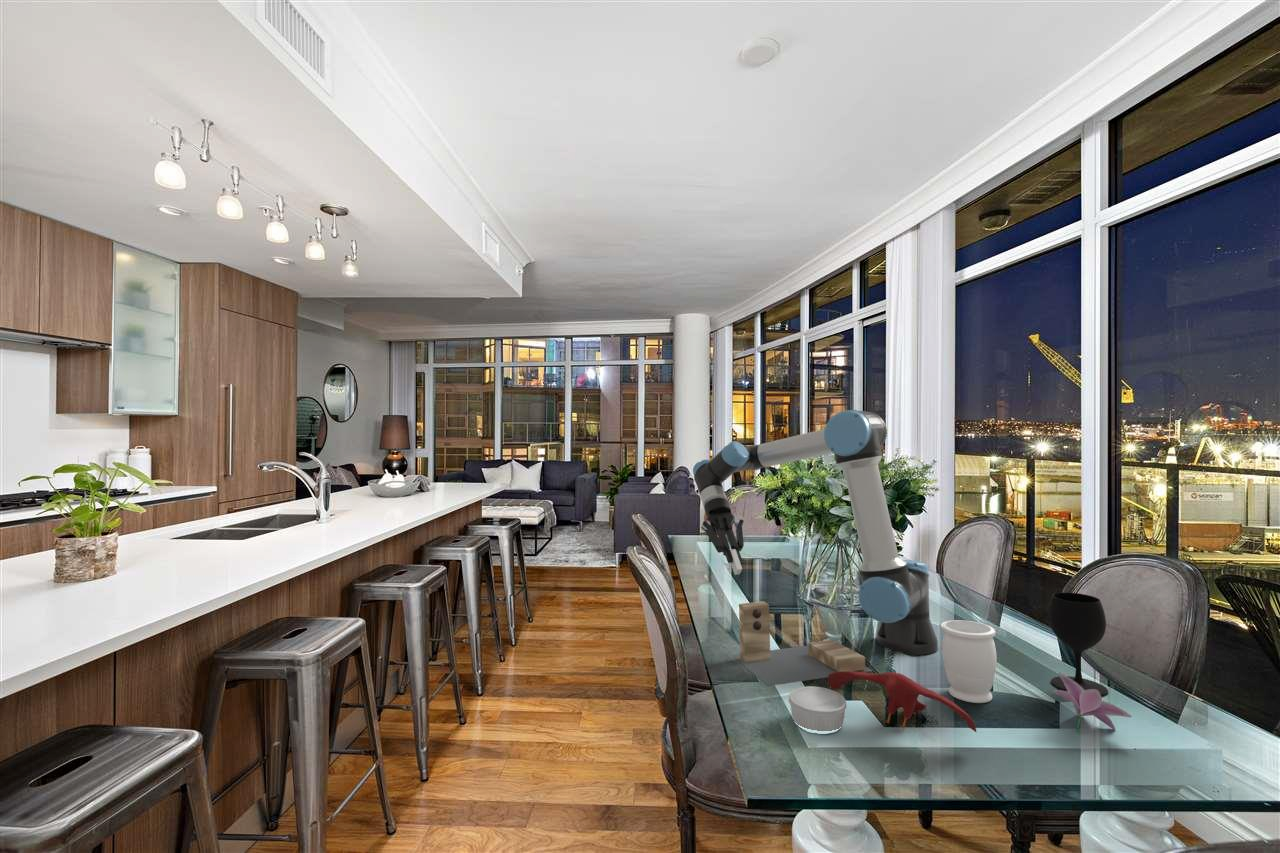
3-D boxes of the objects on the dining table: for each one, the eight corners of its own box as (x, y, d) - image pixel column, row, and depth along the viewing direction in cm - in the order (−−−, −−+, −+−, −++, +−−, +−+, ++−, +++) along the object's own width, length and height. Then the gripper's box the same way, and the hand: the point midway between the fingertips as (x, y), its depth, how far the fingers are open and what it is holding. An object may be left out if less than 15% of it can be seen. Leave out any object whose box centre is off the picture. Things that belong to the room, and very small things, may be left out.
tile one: (808, 642, 154) (839, 660, 141) (832, 639, 156) (864, 656, 143) (808, 655, 154) (840, 674, 141) (832, 652, 156) (865, 670, 142)
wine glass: (1097, 680, 136) (1094, 593, 136) (1117, 699, 126) (1113, 605, 126) (1044, 675, 139) (1041, 590, 139) (1059, 694, 129) (1056, 602, 130)
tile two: (740, 658, 153) (738, 603, 153) (765, 655, 154) (763, 601, 155) (745, 663, 149) (744, 607, 150) (771, 659, 151) (769, 604, 151)
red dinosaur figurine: (838, 720, 129) (813, 683, 122) (851, 681, 134) (828, 644, 127) (983, 769, 109) (963, 729, 102) (992, 721, 114) (974, 680, 107)
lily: (1139, 754, 107) (1144, 700, 110) (1075, 728, 108) (1082, 674, 111) (1088, 742, 118) (1094, 693, 121) (1030, 718, 119) (1038, 670, 122)
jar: (977, 710, 123) (975, 637, 123) (933, 692, 132) (930, 624, 132) (1008, 699, 127) (1006, 629, 128) (963, 682, 137) (961, 616, 137)
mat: (826, 645, 162) (826, 643, 162) (873, 673, 143) (873, 670, 143) (732, 657, 155) (732, 655, 155) (767, 688, 136) (767, 685, 136)
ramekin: (839, 744, 111) (838, 715, 111) (781, 729, 117) (780, 702, 117) (852, 719, 120) (852, 692, 121) (798, 707, 126) (797, 682, 126)
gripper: (732, 510, 183) (756, 577, 167) (692, 512, 180) (712, 580, 164) (739, 495, 178) (764, 562, 162) (698, 497, 175) (719, 565, 159)
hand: (738, 571), depth 163 cm, fingers closed
